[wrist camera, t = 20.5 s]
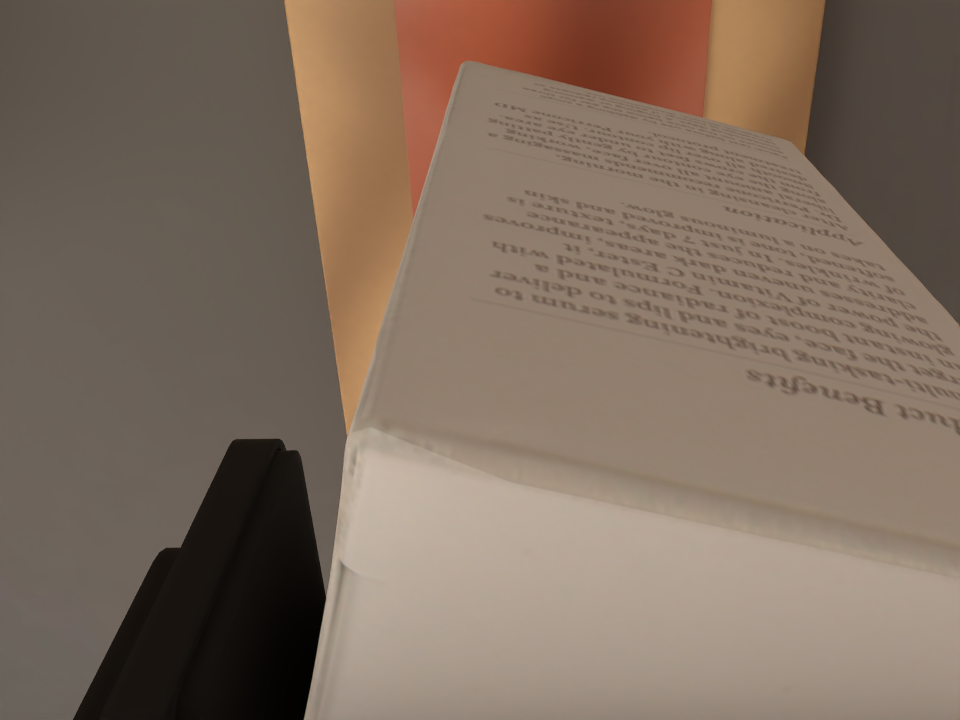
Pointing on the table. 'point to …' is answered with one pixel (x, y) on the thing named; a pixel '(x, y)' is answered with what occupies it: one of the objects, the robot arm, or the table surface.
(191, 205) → the table surface
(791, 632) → the small box
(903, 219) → the table surface
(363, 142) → the mat
